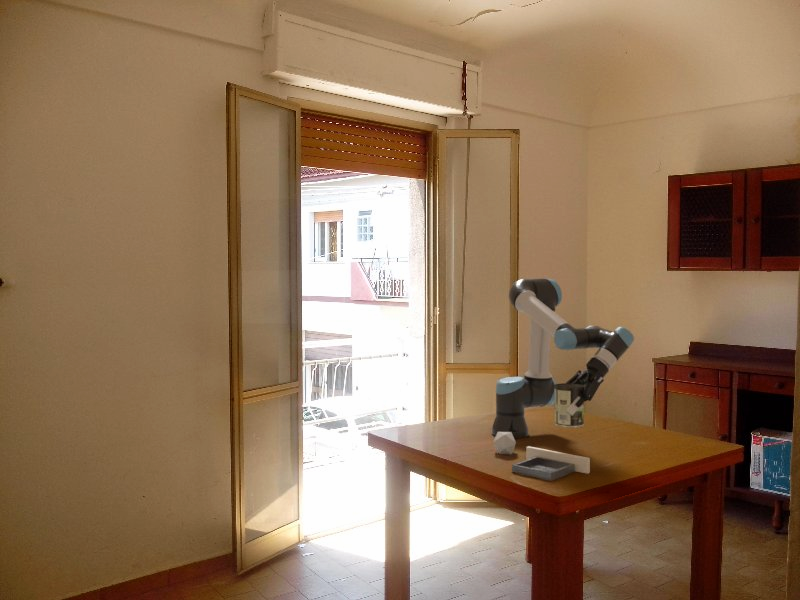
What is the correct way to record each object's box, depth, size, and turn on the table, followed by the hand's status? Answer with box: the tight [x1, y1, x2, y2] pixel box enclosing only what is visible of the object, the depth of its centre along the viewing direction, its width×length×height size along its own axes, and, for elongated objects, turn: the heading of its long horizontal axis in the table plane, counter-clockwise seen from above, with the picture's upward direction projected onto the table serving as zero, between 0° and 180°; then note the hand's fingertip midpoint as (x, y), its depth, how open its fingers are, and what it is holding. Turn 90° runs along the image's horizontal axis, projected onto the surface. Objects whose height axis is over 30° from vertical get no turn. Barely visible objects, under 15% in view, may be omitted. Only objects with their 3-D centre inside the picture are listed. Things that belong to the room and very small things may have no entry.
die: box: [492, 432, 517, 455], centre depth 264 cm, size 8×9×10 cm
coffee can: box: [554, 382, 585, 429], centre depth 251 cm, size 10×10×14 cm
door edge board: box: [525, 445, 591, 474], centre depth 246 cm, size 24×2×5 cm, turn 47°
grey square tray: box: [511, 456, 576, 482], centre depth 240 cm, size 15×15×2 cm
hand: (561, 409), depth 250 cm, fingers closed on coffee can, 10 cm apart
